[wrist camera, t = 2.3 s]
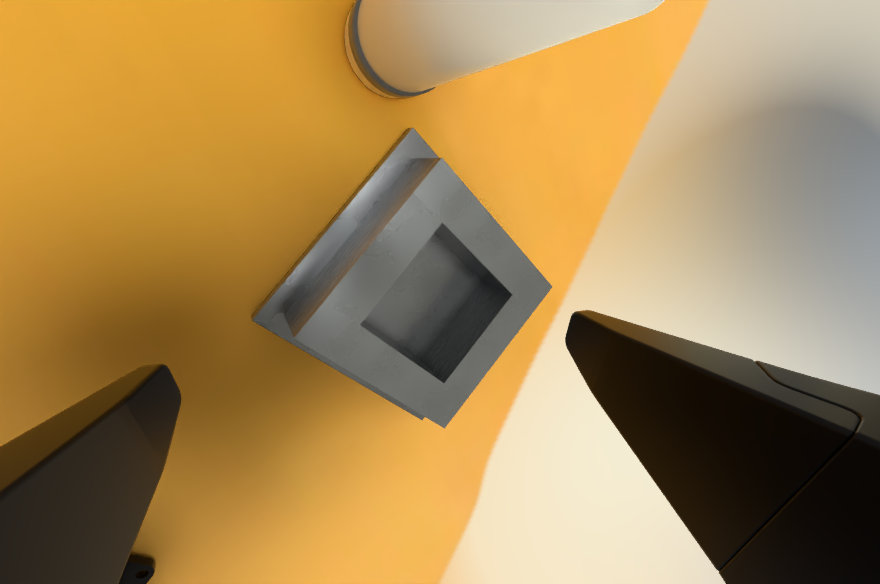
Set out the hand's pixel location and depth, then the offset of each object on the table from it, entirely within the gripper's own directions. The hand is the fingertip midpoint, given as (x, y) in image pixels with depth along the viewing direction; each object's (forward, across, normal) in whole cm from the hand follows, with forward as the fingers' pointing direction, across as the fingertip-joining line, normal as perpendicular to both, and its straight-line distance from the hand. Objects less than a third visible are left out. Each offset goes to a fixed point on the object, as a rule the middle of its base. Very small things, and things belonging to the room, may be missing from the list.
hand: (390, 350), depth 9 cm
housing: (+12, +3, -6) cm, 14 cm away
